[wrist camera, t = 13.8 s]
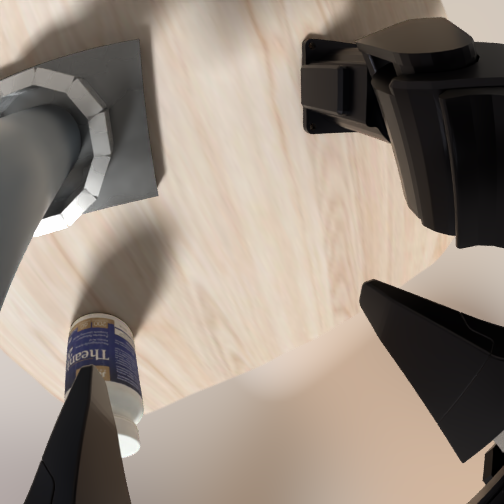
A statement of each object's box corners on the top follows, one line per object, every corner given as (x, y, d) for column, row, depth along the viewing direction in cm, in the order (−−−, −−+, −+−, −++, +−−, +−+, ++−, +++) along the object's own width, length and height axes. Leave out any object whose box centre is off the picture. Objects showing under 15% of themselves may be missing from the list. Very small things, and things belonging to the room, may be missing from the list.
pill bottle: (104, 298, 20) (109, 417, 13) (146, 340, 24) (168, 447, 16) (55, 330, 20) (47, 441, 12) (98, 366, 23) (108, 468, 15)
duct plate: (138, 42, 13) (140, 30, 10) (156, 189, 18) (163, 212, 15) (-44, 104, 10) (-75, 113, 7) (-10, 235, 15) (-30, 265, 12)
